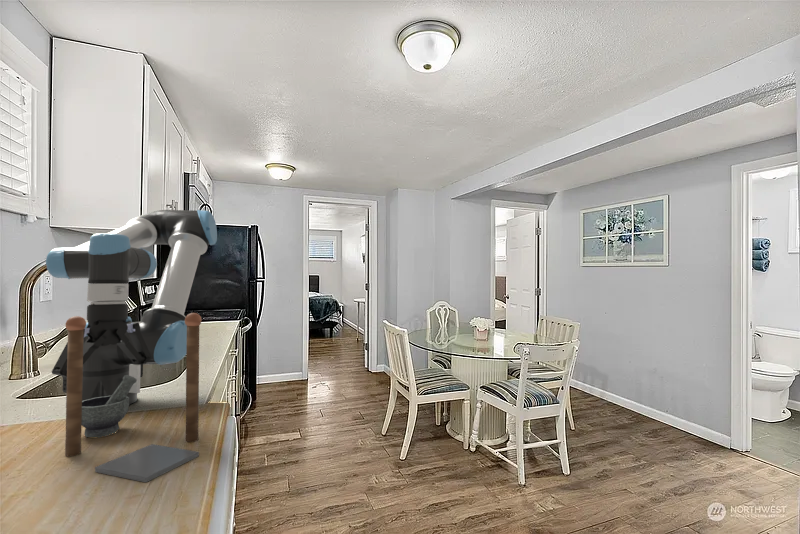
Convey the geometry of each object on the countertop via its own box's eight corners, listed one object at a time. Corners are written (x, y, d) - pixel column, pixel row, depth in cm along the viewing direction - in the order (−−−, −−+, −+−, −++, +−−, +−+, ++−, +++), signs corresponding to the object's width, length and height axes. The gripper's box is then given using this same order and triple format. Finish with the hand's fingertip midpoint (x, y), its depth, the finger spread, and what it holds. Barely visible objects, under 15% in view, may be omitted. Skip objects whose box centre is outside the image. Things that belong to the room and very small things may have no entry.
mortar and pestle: (71, 444, 85) (72, 385, 86) (76, 431, 93) (77, 376, 94) (136, 433, 91) (137, 377, 92) (135, 421, 99) (136, 370, 100)
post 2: (192, 436, 89) (193, 312, 90) (203, 438, 88) (205, 312, 89) (179, 441, 86) (181, 313, 87) (191, 443, 85) (193, 313, 86)
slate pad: (151, 448, 83) (151, 444, 83) (198, 456, 79) (198, 451, 79) (95, 471, 73) (95, 467, 73) (145, 482, 68) (145, 477, 68)
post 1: (76, 449, 82) (79, 315, 83) (87, 451, 81) (90, 315, 82) (58, 456, 79) (61, 316, 80) (69, 458, 78) (72, 316, 79)
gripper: (57, 305, 80) (53, 417, 79) (168, 301, 104) (167, 388, 103) (32, 305, 83) (28, 414, 82) (146, 301, 106) (144, 386, 105)
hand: (105, 399), depth 92 cm, fingers open, 13 cm apart
